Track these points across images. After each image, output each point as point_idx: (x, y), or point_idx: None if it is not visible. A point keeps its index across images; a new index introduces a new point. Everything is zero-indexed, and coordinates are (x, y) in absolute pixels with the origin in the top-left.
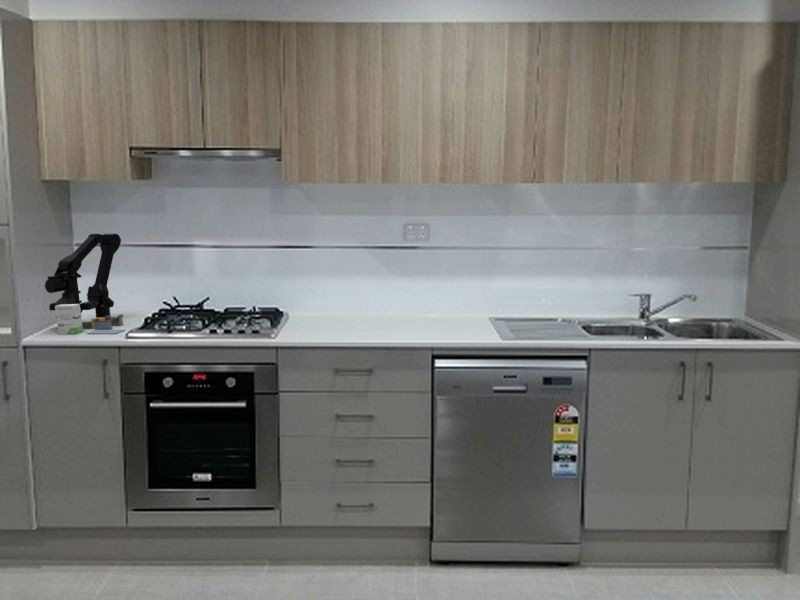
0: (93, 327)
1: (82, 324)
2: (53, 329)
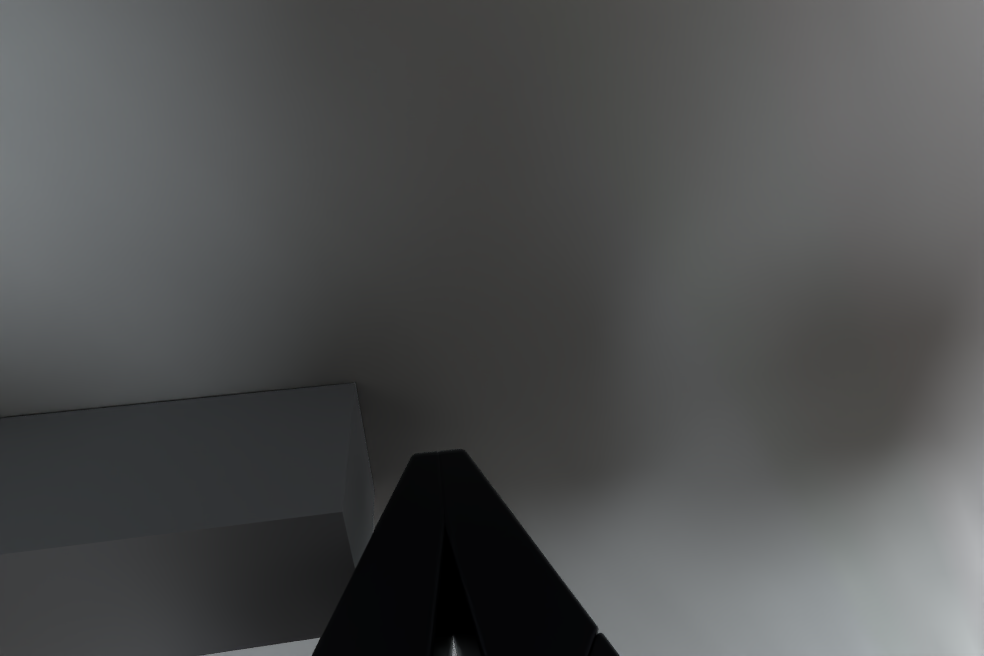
0: None
1: (63, 496)
2: (978, 236)
